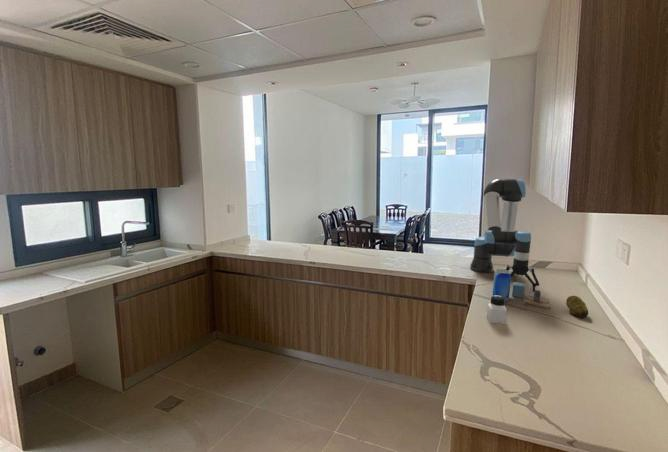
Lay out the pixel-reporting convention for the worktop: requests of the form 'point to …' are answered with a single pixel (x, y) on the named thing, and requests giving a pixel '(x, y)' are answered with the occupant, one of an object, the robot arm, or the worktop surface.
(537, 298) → the tan square panel
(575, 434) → the worktop surface
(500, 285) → the beer can
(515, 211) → the robot arm
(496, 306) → the medicine bottle
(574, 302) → the brown oval lump
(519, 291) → the light blue chamfered box
